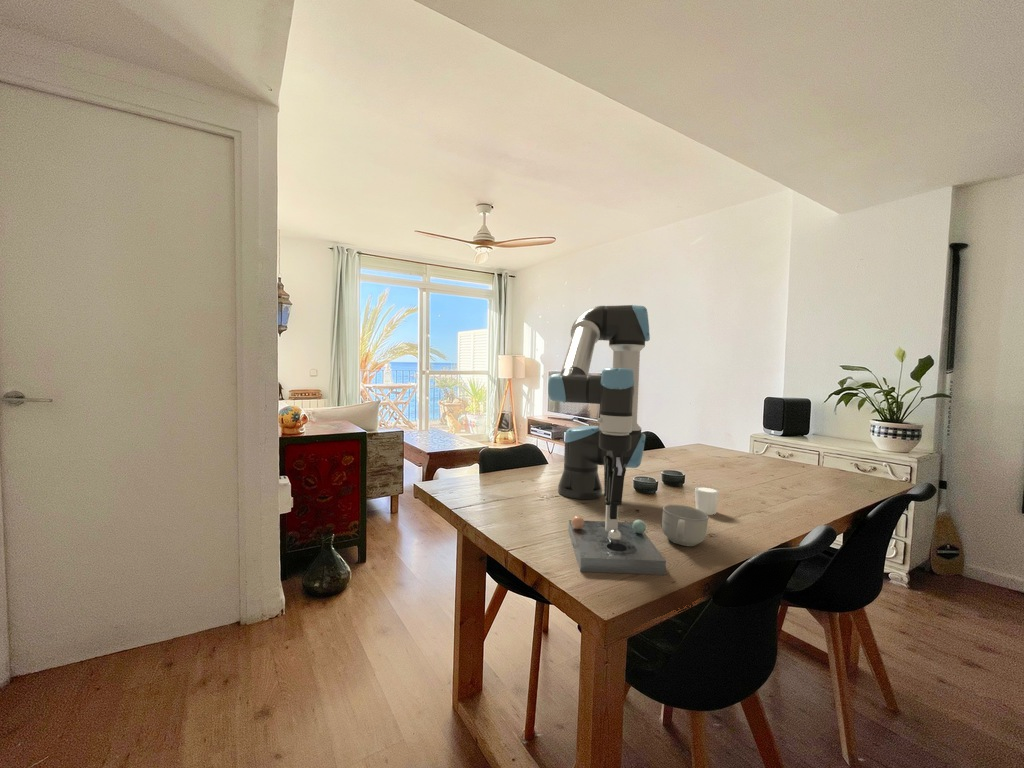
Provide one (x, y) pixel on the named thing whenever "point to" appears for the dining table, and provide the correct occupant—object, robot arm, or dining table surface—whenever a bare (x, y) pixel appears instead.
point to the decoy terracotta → (577, 522)
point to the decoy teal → (639, 526)
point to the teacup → (684, 524)
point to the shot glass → (706, 499)
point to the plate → (615, 550)
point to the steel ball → (614, 536)
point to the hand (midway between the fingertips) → (611, 530)
